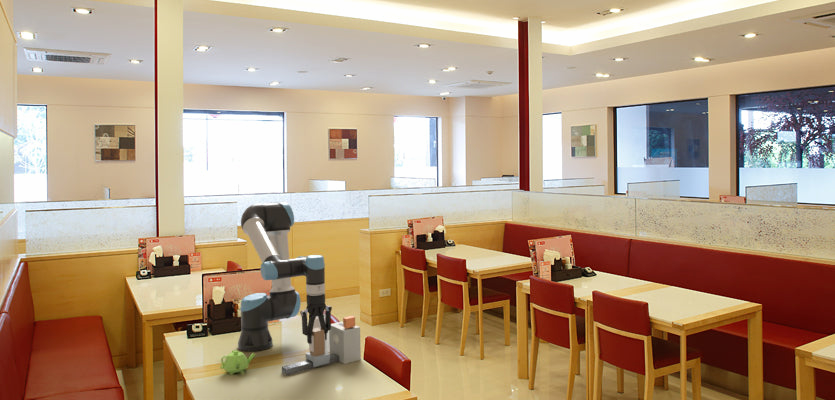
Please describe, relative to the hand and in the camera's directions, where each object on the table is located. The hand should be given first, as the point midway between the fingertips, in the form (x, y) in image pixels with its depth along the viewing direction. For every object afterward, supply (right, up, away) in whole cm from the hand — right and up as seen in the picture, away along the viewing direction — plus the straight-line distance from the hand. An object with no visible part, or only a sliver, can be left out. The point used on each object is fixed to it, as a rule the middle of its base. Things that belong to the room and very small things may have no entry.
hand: (317, 349), depth 237 cm
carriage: (0, -6, 0) cm, 6 cm away
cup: (-1, -6, +17) cm, 18 cm away
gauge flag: (+13, +8, +4) cm, 16 cm away
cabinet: (+10, -6, +9) cm, 15 cm away
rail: (-2, -7, -1) cm, 7 cm away
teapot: (-31, -8, -5) cm, 32 cm away
